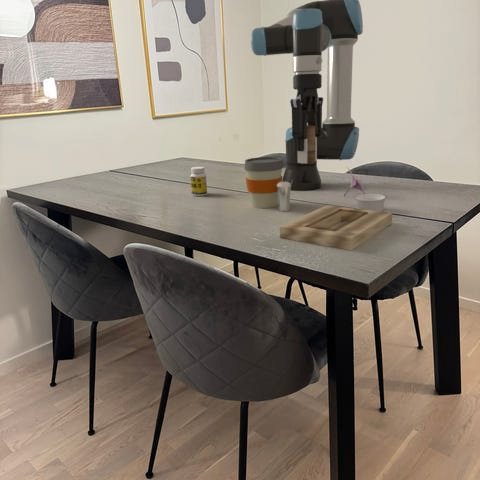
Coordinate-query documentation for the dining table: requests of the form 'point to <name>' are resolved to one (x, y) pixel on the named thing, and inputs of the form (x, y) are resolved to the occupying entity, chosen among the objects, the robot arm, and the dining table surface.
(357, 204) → the ramekin
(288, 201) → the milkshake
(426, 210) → the dining table surface
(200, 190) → the supplement bottle
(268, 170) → the reusable coffee cup
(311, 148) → the peg
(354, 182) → the lily
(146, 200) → the dining table surface
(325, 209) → the seat board
